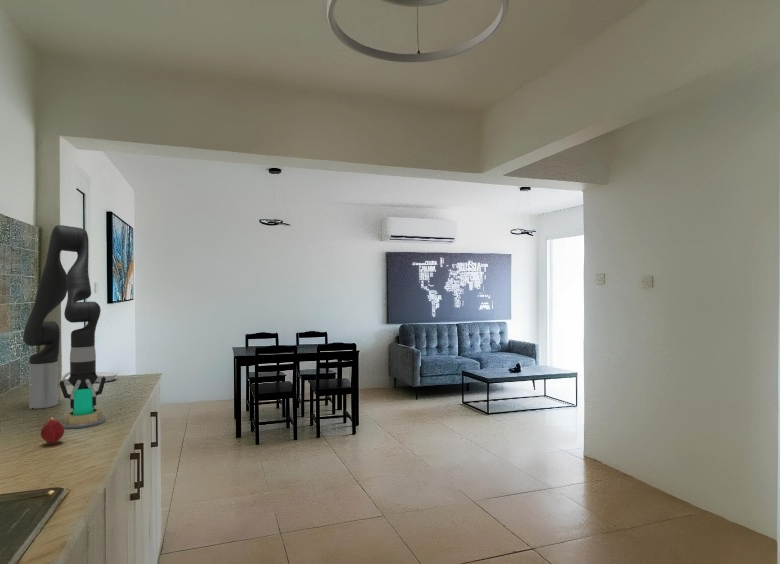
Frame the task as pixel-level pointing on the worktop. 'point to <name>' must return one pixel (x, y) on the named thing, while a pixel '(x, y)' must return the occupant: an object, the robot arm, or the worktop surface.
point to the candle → (83, 401)
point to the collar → (82, 417)
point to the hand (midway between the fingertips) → (83, 408)
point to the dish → (83, 424)
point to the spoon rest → (107, 375)
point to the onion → (52, 431)
